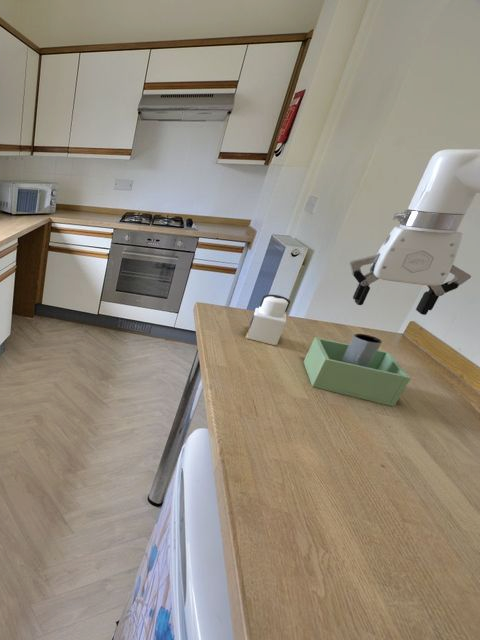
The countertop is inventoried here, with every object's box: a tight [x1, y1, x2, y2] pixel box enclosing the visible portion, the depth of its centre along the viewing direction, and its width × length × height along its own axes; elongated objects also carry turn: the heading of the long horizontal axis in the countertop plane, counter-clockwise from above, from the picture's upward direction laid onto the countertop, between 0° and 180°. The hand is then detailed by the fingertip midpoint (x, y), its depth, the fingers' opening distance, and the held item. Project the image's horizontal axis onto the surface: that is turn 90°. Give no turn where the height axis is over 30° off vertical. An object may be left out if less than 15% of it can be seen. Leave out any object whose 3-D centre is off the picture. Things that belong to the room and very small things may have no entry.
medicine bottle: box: [245, 294, 291, 346], centre depth 110 cm, size 7×7×12 cm
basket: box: [303, 336, 412, 408], centre depth 90 cm, size 14×14×7 cm
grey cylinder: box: [341, 333, 383, 367], centre depth 89 cm, size 4×4×10 cm
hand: (388, 307), depth 84 cm, fingers open, 9 cm apart
